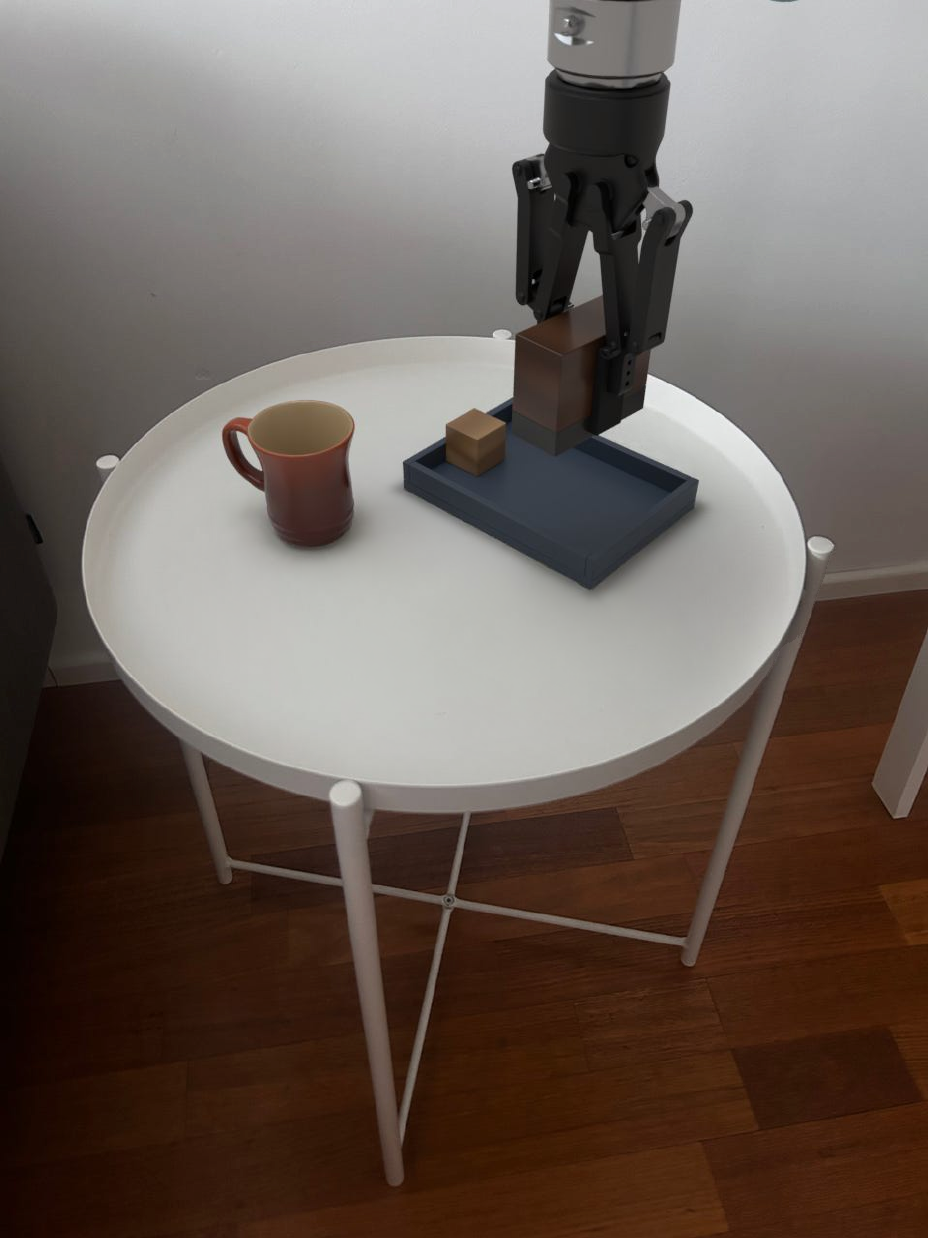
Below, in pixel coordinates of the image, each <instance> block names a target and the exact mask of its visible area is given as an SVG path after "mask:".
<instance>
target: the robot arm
mask: <svg viewBox="0 0 928 1238" xmlns="http://www.w3.org/2000/svg"><path fill="white" fill-rule="evenodd" d="M770 1H771V2H777V3H791V2H796V1H798V0H770ZM681 5H682V0H549V7H548V8H549V9H548V12H549V13H548V32H547V49H546V50H547V51H546V52H547V53H546V60H547V62H548V64H550V66H551V67H552V68H553V69H552V70H551V71H550V72H549V74H548V75H547V76H546V77H545V78H544V79H545V80H544V97H543V115H542V116H543V118H542V133H543V136H544V138H545V140H546V141H547V142H548V145H547V148H546V149H545V152H544V153H538V154H535V155H531V156H529V157H525V158H523V159H520V160H519V159H518V160H517V161H515V162H513V164H512V165H511V171H512V178H513V183H514V187H515V192H516V196H517V209H516V210H517V211H516V213H517V214H516V255H515V256H516V257H515V260H516V261H515V300H516V302H517V303H518V305H520V306H521V307H522V306H523V307H524V306H526V305H527V306H528V307H529V308H530V310H532V314H533V317H534V319H535V320H536V324H539V323H541V322H543V321H545V320H548V319H550V318H552V317H554V316H556V315H559V314H561V313H563V312H565V311H568V310H570V309H572V308H574V307H575V304H573V302H571V297H572V293H573V290H574V286H575V283H576V278H577V275H578V271H579V268H580V264H581V260H582V256H583V253H584V250H585V245H586V242H587V239H588V234H589V232H590V233H591V234H592V244H593V250H594V252H595V253H597V254H598V256H599V265H600V277H601V280H600V281H601V290H602V291H601V293H602V295H603V305H604V318H605V330H606V343H607V346H605V347H603V348H601V349H599V350H597V354H596V364H595V375H594V385H593V395H592V406H591V416H590V426H589V432H590V433H592V434H594V435H596V436H598V435H599V436H601V435H602V434H604V433H605V432H607V431H608V430H610V429H612V428H614V427H616V426H618V425H619V424H621V423H622V420H621V417H622V408H623V400H624V393H625V392H627V391H629V390H630V389H631V387H632V386H633V381H634V373H635V372H634V371H635V365H636V357H637V356H639V355H641V354H643V353H645V352H647V351H649V350H651V351H652V350H653V349H654V348H657V347H659V346H661V345H663V344H664V342H665V341H666V335H667V330H668V329H667V328H668V321H669V316H670V309H671V304H672V296H673V291H674V284H675V278H676V271H677V264H678V259H679V252H680V245H681V241H682V240H681V239H682V237H683V235H684V233H685V231H686V229H687V227H688V225H689V223H690V221H691V220H692V217H693V214H694V207H693V204H692V203H691V202H690V201H689V200H687V199H682V200H679V201H675V200H674V199H673V198H671V196H669V195H668V194H667V193H666V192H664V190H662V188H660V175H659V172H658V167H657V155H658V153H659V149H660V147H661V144H662V142H663V140H664V137H665V133H666V125H667V117H668V111H669V109H668V108H669V101H670V92H671V85H672V84H671V81H670V80H669V77H668V76H667V74H665V72H666V71H668V70H669V69H670V68H672V66H673V65H674V63H675V59H676V51H677V39H678V32H679V24H680V22H679V21H680V14H681ZM644 210H645V213H646V214H645V218H644V220H643V221H642V212H643V211H644ZM643 230H644V231H645V232H644V235H643ZM641 240H642V241H641ZM640 242H641V244H640ZM639 244H640V245H641V246H640V251H639ZM533 281H534V282H533Z"/></svg>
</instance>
